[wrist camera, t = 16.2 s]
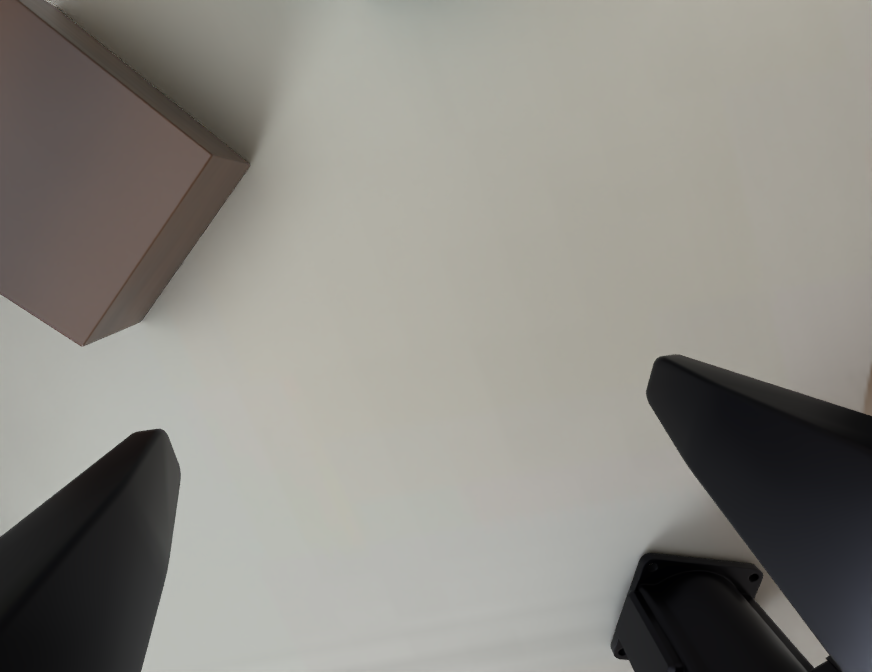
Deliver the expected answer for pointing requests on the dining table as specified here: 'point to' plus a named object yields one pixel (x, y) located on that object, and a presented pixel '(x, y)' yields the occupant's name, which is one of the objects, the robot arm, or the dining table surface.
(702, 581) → the robot arm
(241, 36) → the dining table surface
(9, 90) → the walnut base
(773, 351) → the dining table surface
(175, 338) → the dining table surface
